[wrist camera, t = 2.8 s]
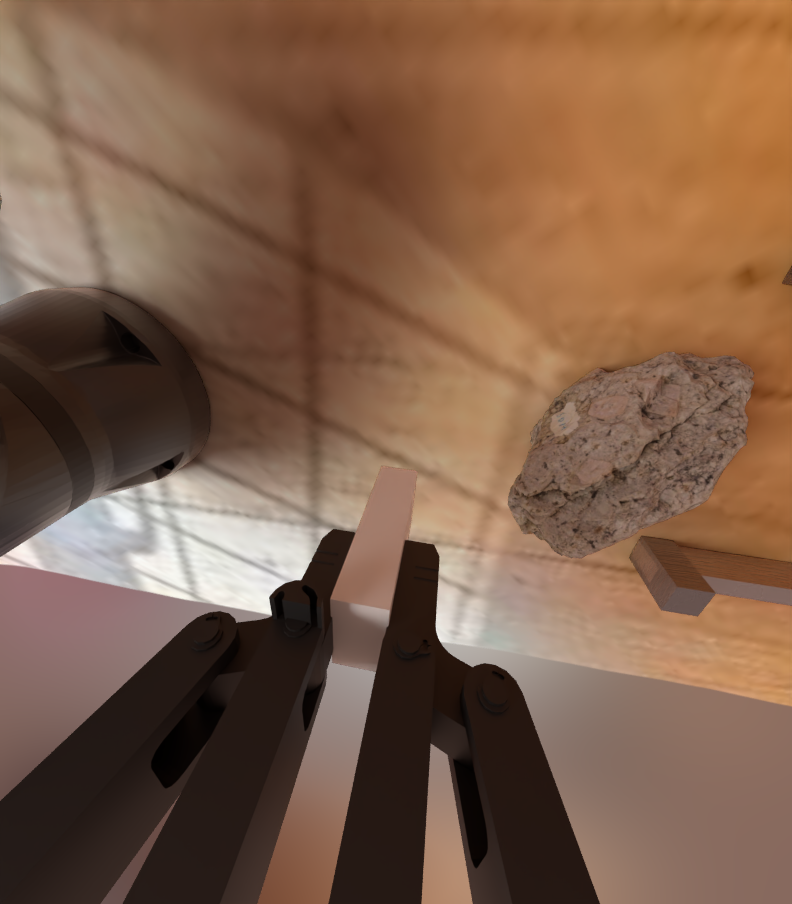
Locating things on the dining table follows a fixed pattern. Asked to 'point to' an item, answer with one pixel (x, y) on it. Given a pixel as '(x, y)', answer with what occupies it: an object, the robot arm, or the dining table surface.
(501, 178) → the dining table surface
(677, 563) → the frame
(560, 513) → the rock
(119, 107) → the dining table surface
